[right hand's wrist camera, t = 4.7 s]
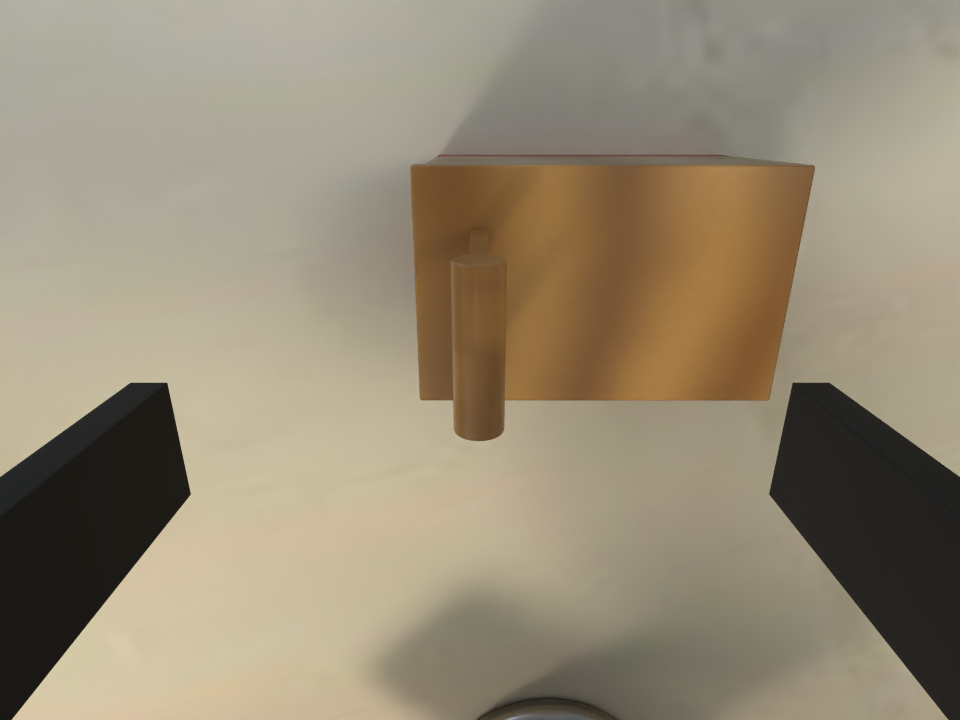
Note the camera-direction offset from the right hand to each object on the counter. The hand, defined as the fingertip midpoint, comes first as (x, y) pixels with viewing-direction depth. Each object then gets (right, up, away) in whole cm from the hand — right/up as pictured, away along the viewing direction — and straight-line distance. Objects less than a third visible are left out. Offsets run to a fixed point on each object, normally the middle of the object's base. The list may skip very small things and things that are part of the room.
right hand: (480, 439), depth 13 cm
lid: (+5, +5, +12) cm, 14 cm away
